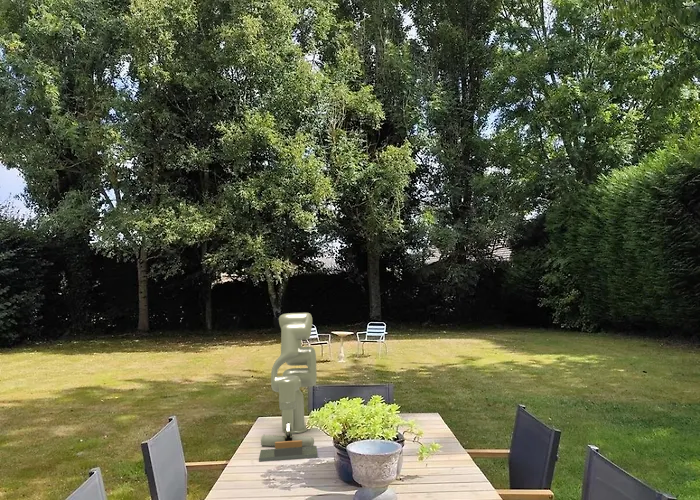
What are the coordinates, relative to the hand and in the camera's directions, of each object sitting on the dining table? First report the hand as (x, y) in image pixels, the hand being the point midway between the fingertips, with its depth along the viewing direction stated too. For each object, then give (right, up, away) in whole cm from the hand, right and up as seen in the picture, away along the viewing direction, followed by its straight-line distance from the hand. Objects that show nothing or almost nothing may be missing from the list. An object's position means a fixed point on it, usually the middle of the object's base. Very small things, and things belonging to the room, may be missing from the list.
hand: (288, 444), depth 263 cm
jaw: (+1, +1, -9) cm, 10 cm away
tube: (0, -1, 0) cm, 1 cm away
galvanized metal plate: (+1, 0, -15) cm, 15 cm away
